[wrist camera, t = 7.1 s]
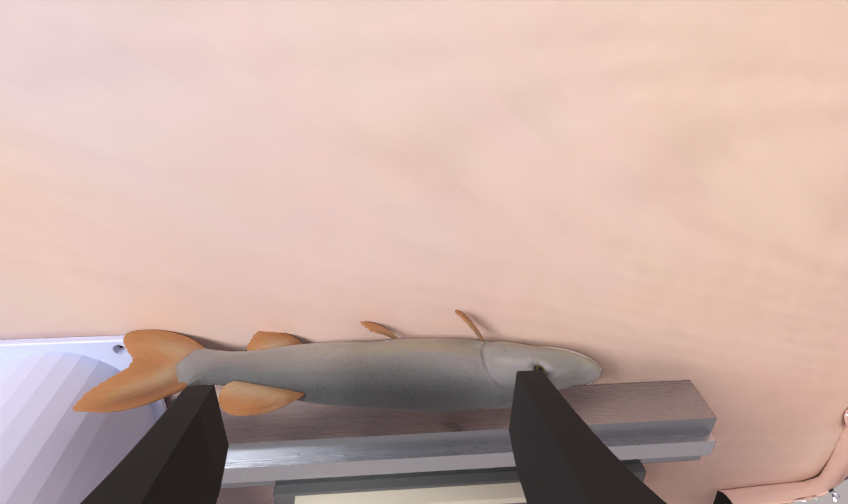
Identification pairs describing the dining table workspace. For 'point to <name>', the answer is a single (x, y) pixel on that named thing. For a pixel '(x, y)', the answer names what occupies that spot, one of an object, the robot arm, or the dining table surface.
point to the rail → (453, 436)
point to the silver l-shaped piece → (801, 484)
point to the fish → (335, 372)
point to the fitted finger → (416, 490)
